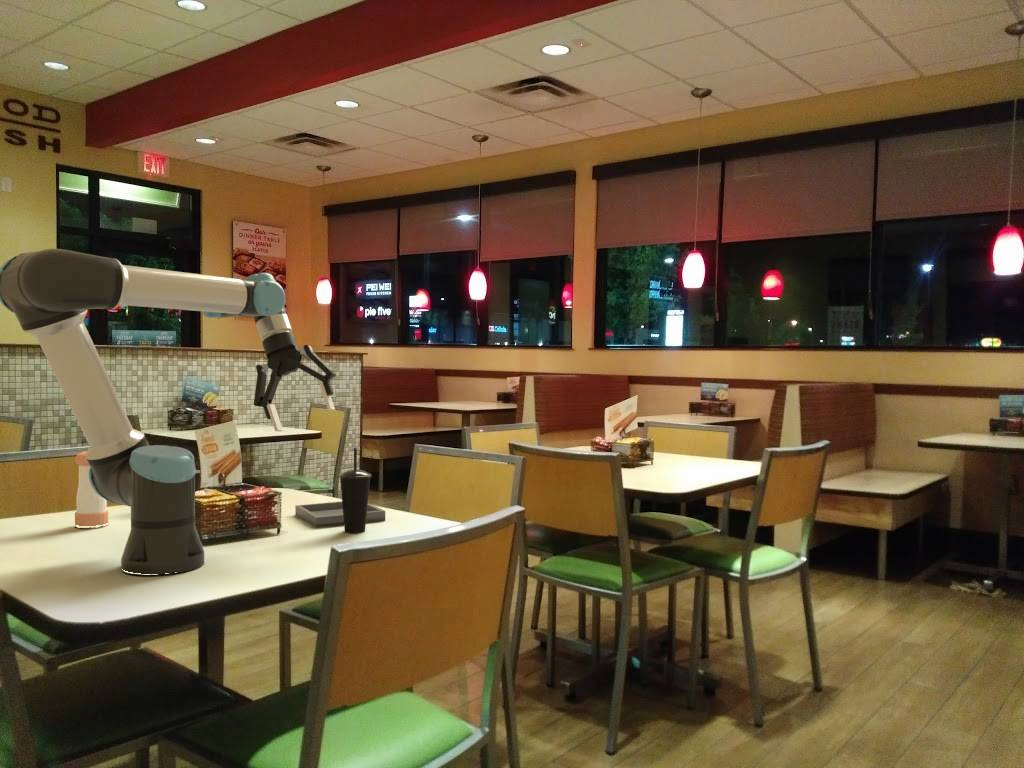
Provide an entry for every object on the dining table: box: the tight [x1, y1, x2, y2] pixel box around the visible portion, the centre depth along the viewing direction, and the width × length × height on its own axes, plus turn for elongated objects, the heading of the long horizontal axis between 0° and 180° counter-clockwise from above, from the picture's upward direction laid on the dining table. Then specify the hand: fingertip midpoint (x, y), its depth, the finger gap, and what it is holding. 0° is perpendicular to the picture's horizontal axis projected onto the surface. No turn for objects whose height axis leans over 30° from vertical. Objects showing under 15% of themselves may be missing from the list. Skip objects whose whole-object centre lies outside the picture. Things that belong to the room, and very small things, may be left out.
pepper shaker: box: [74, 447, 109, 526], centre depth 191 cm, size 7×7×19 cm
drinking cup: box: [338, 447, 372, 534], centre depth 188 cm, size 8×8×20 cm
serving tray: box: [295, 500, 386, 529], centre depth 204 cm, size 18×18×2 cm
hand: (305, 420), depth 183 cm, fingers open, 13 cm apart
